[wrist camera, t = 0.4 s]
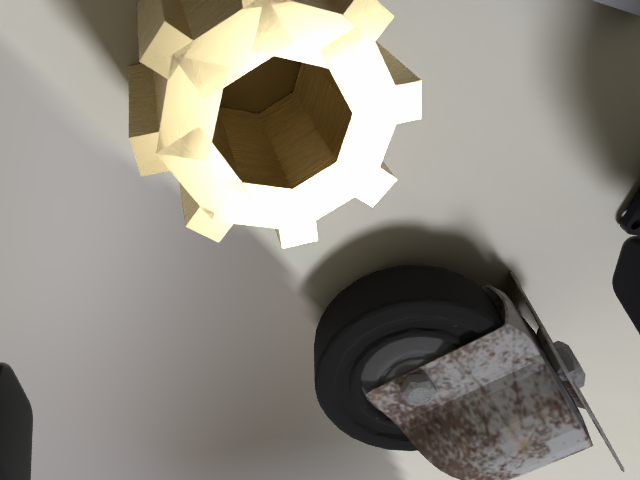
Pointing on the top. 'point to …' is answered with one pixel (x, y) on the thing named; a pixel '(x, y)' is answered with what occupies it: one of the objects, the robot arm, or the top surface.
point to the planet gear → (274, 122)
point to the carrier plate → (623, 5)
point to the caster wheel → (449, 375)
